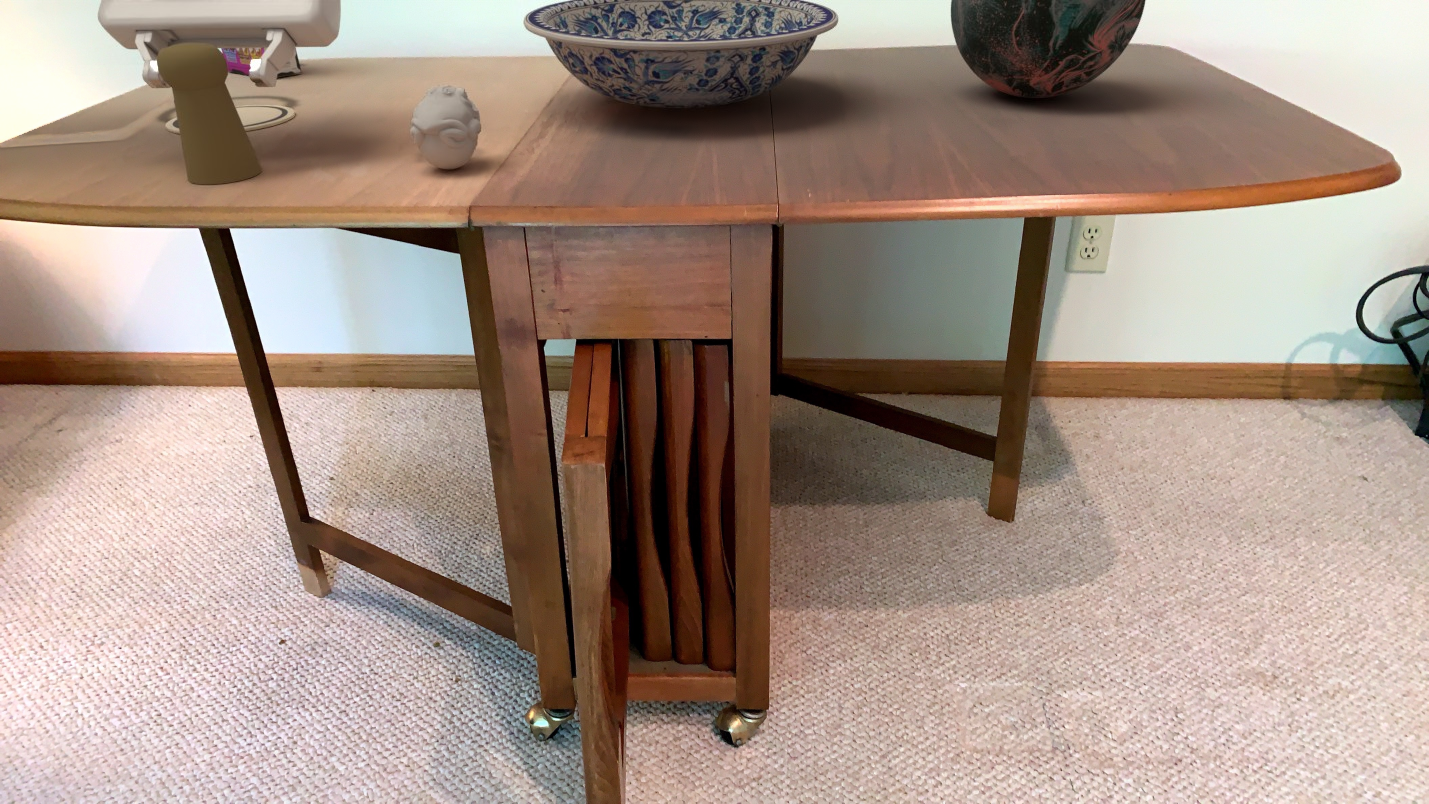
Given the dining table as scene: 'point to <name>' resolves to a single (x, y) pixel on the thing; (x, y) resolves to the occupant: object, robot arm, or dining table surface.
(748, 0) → the ceramic bowl
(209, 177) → the cork
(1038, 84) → the decorative sphere
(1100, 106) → the dining table surface
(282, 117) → the round coaster
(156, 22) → the robot arm
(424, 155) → the frog figurine
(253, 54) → the candy bar box
